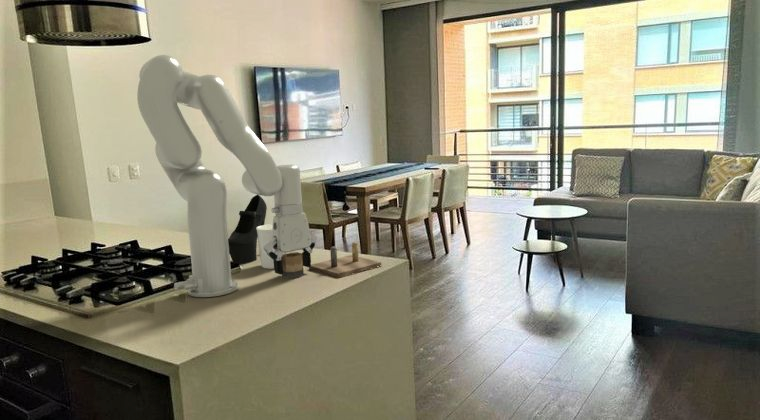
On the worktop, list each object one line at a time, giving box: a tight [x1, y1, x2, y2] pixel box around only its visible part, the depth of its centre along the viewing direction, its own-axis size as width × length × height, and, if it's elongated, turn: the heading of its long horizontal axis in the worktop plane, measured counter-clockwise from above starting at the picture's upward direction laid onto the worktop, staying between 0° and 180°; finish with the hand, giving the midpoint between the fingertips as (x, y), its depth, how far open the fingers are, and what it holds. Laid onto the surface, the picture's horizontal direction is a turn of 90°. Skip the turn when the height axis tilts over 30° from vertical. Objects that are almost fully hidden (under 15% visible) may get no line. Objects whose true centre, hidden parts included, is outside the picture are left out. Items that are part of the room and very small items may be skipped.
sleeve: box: [281, 251, 304, 279], centre depth 154 cm, size 6×6×6 cm
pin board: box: [308, 241, 382, 278], centre depth 160 cm, size 16×14×7 cm
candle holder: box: [256, 223, 290, 270], centre depth 166 cm, size 10×10×12 cm
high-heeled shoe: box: [228, 194, 268, 264], centre depth 174 cm, size 8×19×20 cm, turn 158°
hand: (293, 269), depth 155 cm, fingers open, 8 cm apart
